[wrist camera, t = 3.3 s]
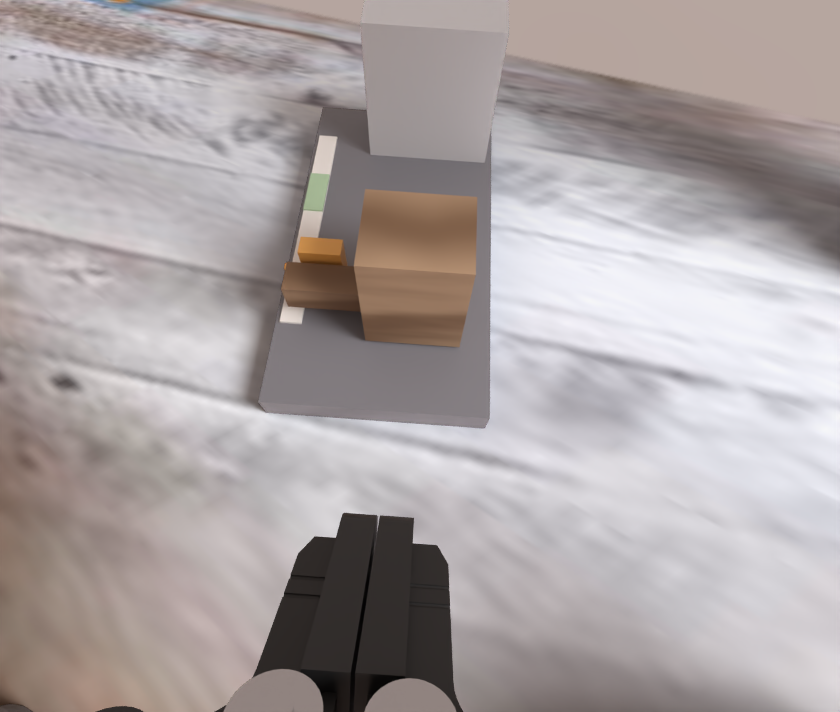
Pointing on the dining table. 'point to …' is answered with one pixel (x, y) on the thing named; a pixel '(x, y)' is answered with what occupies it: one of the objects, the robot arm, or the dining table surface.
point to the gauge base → (406, 172)
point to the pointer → (321, 251)
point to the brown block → (400, 269)
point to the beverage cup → (13, 708)
